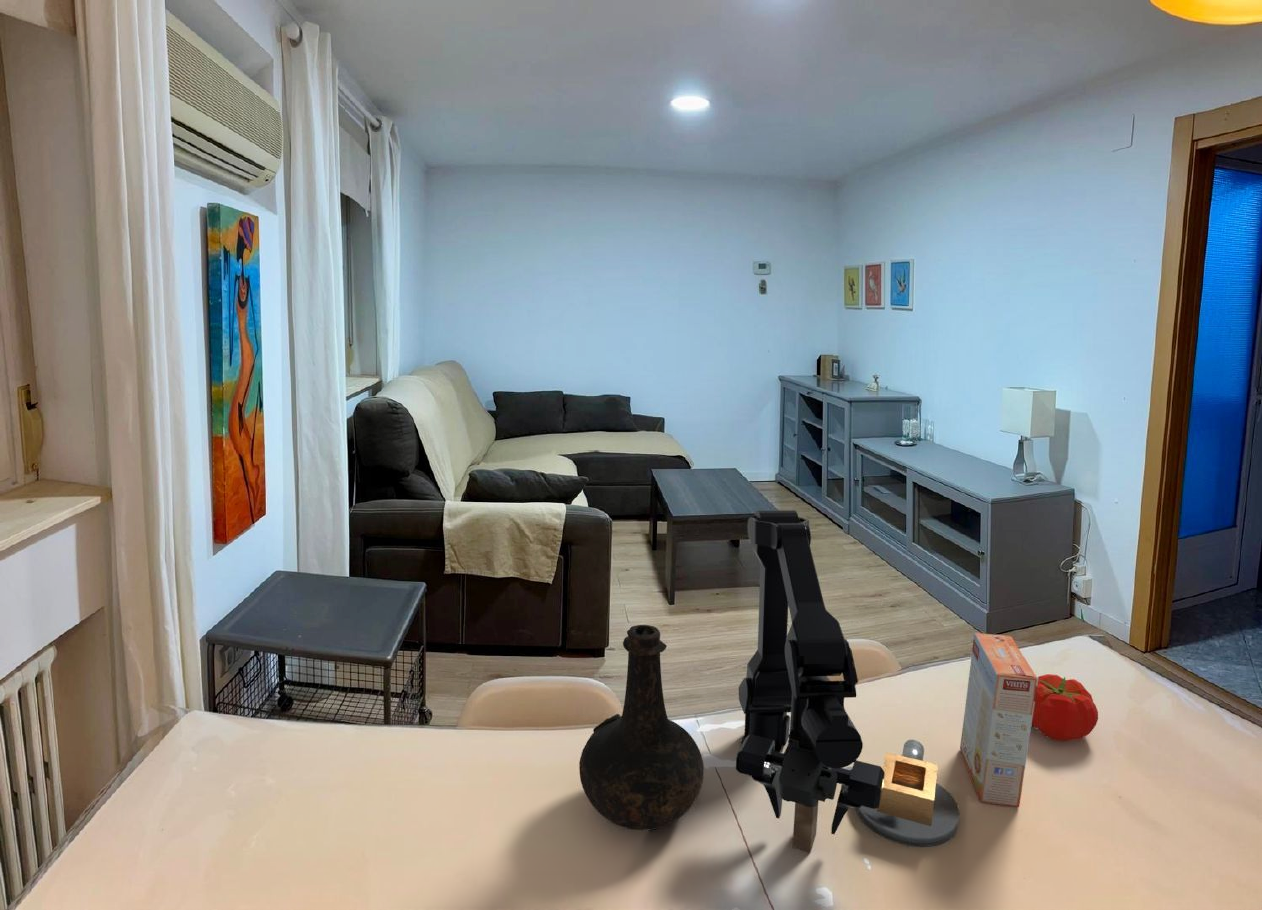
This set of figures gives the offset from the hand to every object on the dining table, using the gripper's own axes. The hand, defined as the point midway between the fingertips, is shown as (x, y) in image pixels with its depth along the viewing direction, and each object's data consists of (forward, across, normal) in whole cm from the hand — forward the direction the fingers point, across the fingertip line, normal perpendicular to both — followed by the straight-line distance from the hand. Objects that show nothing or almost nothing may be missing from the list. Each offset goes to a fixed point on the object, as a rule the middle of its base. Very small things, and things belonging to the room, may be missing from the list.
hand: (805, 824), depth 105 cm
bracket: (+3, +12, +14) cm, 18 cm away
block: (+3, 0, 0) cm, 3 cm away
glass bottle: (+3, -23, -3) cm, 23 cm away
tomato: (+3, +33, +45) cm, 56 cm away
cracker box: (+3, +23, +26) cm, 35 cm away
